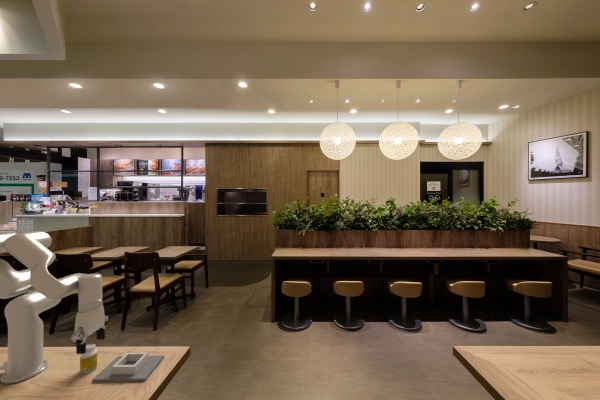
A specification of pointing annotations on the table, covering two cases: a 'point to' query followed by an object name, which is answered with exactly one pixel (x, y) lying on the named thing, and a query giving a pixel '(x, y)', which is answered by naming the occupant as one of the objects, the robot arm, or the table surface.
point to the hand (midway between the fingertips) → (91, 346)
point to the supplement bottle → (88, 359)
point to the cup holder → (129, 368)
